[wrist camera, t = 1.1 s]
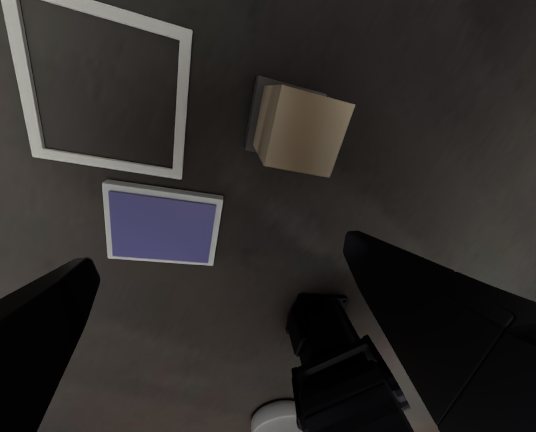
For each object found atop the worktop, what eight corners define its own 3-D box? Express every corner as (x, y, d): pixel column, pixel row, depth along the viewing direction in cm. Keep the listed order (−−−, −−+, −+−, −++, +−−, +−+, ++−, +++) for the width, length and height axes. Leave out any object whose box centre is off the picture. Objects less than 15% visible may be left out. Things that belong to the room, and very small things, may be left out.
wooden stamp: (319, 93, 18) (367, 96, 12) (301, 157, 20) (334, 187, 14) (256, 76, 17) (274, 70, 11) (243, 146, 19) (253, 173, 13)
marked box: (192, 31, 15) (192, 30, 15) (181, 178, 20) (181, 179, 19) (-1, -28, 13) (-5, -30, 13) (35, 155, 17) (32, 156, 17)
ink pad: (223, 195, 21) (223, 201, 20) (213, 259, 24) (212, 267, 23) (107, 179, 19) (100, 184, 18) (112, 252, 22) (106, 260, 21)
